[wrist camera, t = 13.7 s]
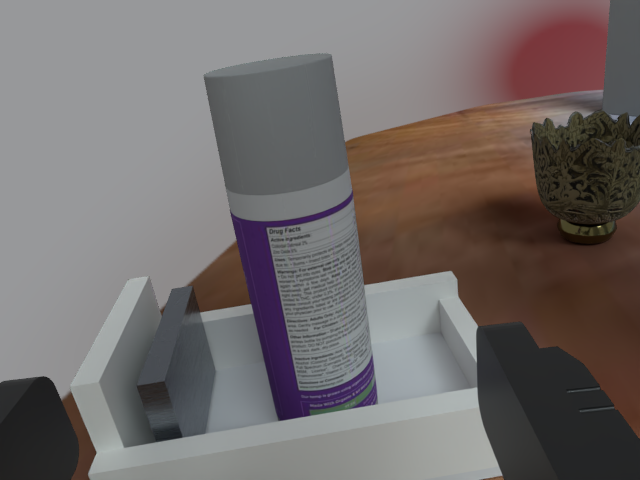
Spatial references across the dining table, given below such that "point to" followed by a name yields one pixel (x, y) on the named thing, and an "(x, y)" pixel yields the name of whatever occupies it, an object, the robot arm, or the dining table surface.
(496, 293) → the dining table surface
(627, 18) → the perfume bottle
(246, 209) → the container
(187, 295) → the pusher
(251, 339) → the white drawer
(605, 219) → the cup
